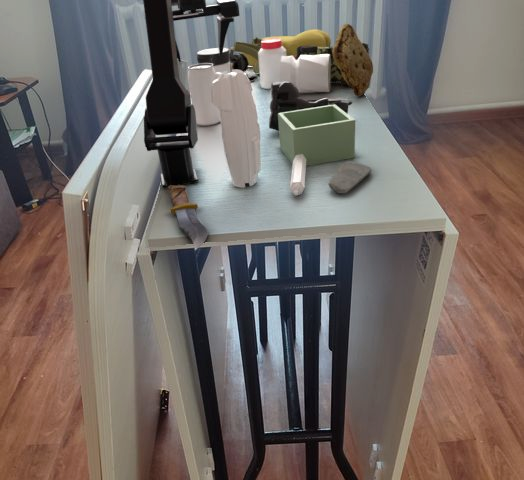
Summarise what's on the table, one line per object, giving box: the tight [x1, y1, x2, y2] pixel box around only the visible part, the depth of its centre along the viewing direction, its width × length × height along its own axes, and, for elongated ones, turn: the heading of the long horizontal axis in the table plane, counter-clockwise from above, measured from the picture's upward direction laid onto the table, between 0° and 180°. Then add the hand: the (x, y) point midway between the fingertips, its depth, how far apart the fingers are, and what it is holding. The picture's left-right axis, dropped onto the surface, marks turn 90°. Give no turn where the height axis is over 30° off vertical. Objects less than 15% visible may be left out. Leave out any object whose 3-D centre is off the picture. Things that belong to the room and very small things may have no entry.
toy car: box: [297, 42, 370, 87], centre depth 142 cm, size 9×19×10 cm
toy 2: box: [240, 28, 332, 68], centre depth 165 cm, size 14×9×30 cm
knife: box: [167, 184, 209, 251], centre depth 85 cm, size 25×1×5 cm
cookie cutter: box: [233, 36, 263, 74], centre depth 155 cm, size 18×12×2 cm, turn 29°
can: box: [187, 63, 221, 127], centre depth 123 cm, size 6×6×12 cm
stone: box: [328, 160, 372, 194], centre depth 91 cm, size 12×2×5 cm
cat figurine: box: [268, 81, 353, 132], centre depth 118 cm, size 10×14×18 cm
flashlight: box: [212, 69, 262, 188], centre depth 89 cm, size 7×18×7 cm
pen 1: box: [248, 75, 259, 82], centre depth 153 cm, size 14×2×1 cm, turn 127°
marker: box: [289, 154, 307, 197], centre depth 92 cm, size 3×2×16 cm
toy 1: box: [229, 46, 250, 73], centre depth 157 cm, size 7×7×15 cm
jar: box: [196, 47, 232, 73], centre depth 136 cm, size 9×8×12 cm
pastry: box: [332, 22, 374, 97], centre depth 130 cm, size 17×17×3 cm
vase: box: [280, 54, 331, 94], centre depth 137 cm, size 9×9×12 cm
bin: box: [278, 104, 356, 167], centre depth 102 cm, size 12×12×7 cm
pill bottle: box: [258, 38, 287, 90], centre depth 145 cm, size 8×8×11 cm
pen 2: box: [306, 97, 349, 104], centre depth 131 cm, size 1×19×1 cm
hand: (200, 58), depth 118 cm, fingers open, 9 cm apart
